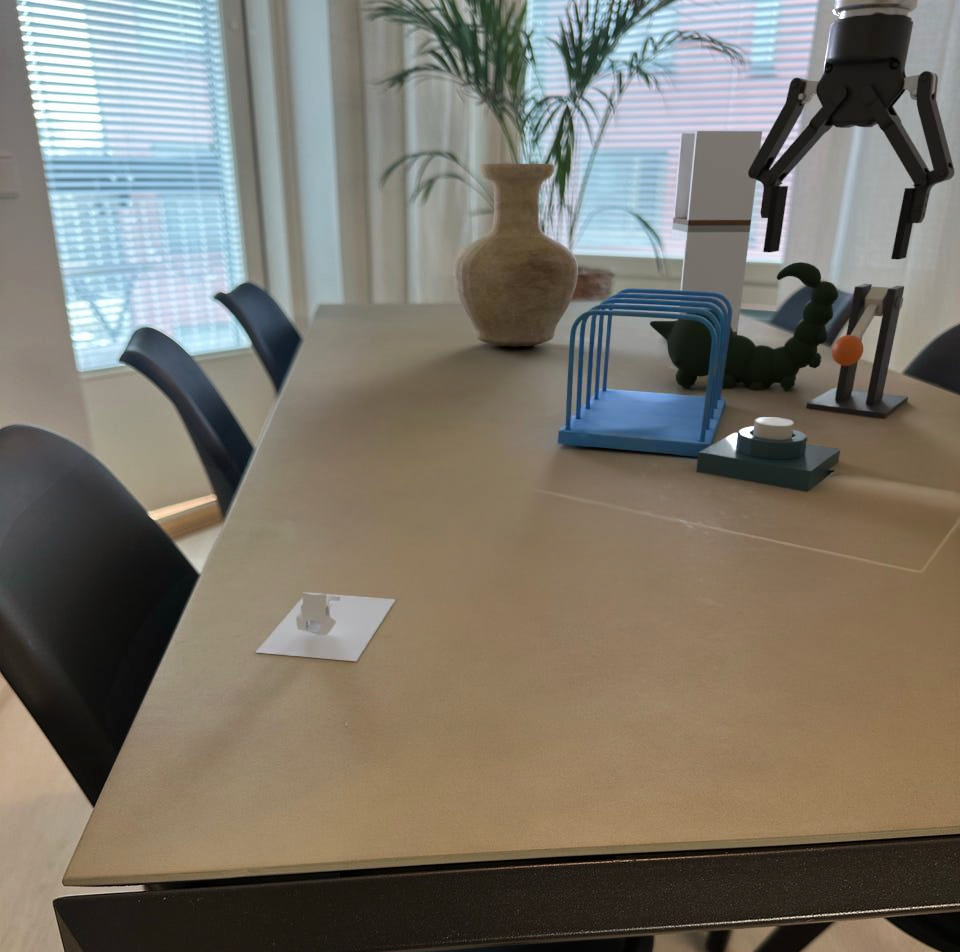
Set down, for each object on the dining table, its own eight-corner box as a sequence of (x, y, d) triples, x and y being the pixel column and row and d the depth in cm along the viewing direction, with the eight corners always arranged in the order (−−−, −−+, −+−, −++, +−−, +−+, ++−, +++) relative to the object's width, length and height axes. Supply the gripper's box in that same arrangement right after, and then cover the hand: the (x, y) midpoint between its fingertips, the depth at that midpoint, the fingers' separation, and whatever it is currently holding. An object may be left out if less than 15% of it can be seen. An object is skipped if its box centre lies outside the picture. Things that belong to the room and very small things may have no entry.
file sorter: (708, 460, 102) (725, 316, 95) (556, 448, 106) (562, 309, 99) (724, 410, 123) (739, 289, 116) (597, 402, 128) (604, 285, 121)
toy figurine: (810, 399, 136) (645, 373, 143) (845, 264, 127) (668, 243, 134) (808, 413, 128) (634, 385, 135) (845, 270, 119) (657, 247, 126)
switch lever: (856, 373, 111) (858, 347, 108) (827, 369, 113) (828, 344, 110) (893, 309, 118) (896, 283, 115) (865, 307, 119) (866, 281, 117)
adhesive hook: (295, 637, 63) (290, 596, 62) (308, 621, 65) (304, 581, 64) (337, 641, 63) (333, 599, 61) (348, 624, 65) (345, 584, 63)
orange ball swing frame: (883, 425, 116) (909, 293, 109) (804, 414, 121) (825, 288, 114) (906, 407, 125) (932, 284, 117) (832, 398, 130) (853, 280, 123)
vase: (513, 360, 156) (516, 163, 142) (429, 344, 171) (425, 164, 157) (599, 345, 169) (609, 163, 156) (515, 331, 184) (517, 164, 170)
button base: (837, 469, 99) (843, 432, 97) (807, 492, 92) (814, 453, 90) (731, 451, 105) (736, 416, 103) (696, 472, 98) (700, 435, 96)
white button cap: (796, 436, 97) (799, 420, 96) (784, 444, 94) (786, 427, 93) (760, 431, 99) (762, 415, 98) (746, 438, 96) (749, 422, 96)
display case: (719, 334, 182) (742, 133, 166) (736, 342, 172) (762, 131, 156) (663, 334, 181) (680, 133, 165) (676, 343, 171) (696, 131, 156)
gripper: (734, 22, 92) (709, 250, 102) (1008, -1, 78) (948, 264, 88) (762, 31, 97) (736, 247, 107) (1023, 10, 84) (966, 259, 94)
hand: (832, 255), depth 98 cm, fingers open, 13 cm apart
